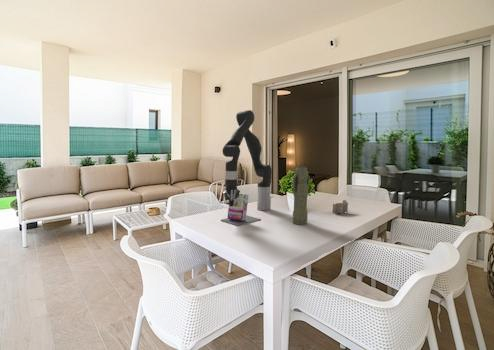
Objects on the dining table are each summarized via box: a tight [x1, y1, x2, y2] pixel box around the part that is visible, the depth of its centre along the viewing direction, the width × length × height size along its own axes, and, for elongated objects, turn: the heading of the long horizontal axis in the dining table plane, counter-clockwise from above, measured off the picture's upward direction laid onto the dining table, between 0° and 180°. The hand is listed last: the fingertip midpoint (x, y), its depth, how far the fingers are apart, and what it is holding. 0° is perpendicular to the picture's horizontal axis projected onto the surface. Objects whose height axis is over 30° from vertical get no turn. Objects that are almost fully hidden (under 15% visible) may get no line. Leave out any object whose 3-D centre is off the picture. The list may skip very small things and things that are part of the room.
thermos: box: [292, 166, 310, 226], centre depth 178 cm, size 9×12×35 cm
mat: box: [220, 214, 262, 227], centre depth 185 cm, size 20×16×1 cm
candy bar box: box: [227, 193, 249, 221], centre depth 183 cm, size 11×5×16 cm, turn 60°
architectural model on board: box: [332, 199, 349, 215], centre depth 205 cm, size 11×3×10 cm, turn 116°
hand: (231, 206), depth 179 cm, fingers closed
